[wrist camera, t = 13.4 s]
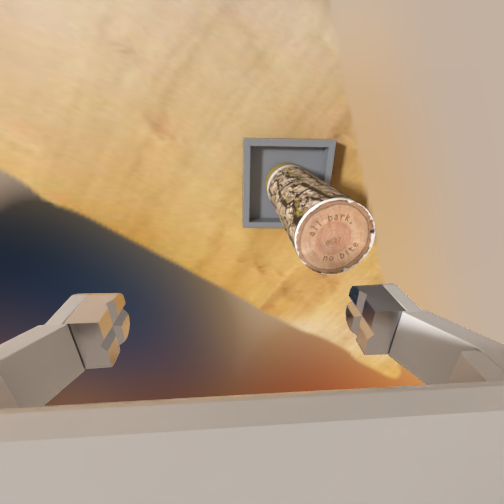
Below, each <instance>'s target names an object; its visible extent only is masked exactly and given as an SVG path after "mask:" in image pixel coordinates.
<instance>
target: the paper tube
mask: <svg viewBox="0 0 504 504" xmlns="http://www.w3.org/2000/svg"><path fill="white" fill-rule="evenodd" d="M265 189H266V192H267V194H268V196H269V199H270V201H271V203H272V205H273V207H274V209H275V211H276V213H277V215H278V217H279V219H280V221H281V223H282V225H283V227H284V229H285V231H286V233H287V235H288V237H289V239H290V241H291V243H292V245H293V247H294V249H295V251H296V253H297V254H298V256H299V258H300V259H301V261H302V262H303V263H304V264H305V265H306V266H307V267H308V268H309V269H311V270H313V271H315V272H318V273H322V274H336V273H341V272H344V271H347V270H349V269H351V268H353V267H354V266H356V265H357V264H358V263H360V262H361V261H362V260H363V259H364V258H365V257H366V255H367V254H368V253H369V251H370V249H371V247H372V245H373V242H374V238H375V224H374V220H373V218H372V216H371V214H370V213H369V211H368V210H367V209H366V208H365V207H364V206H362V205H361V204H360V203H358V202H356V201H355V200H353V199H352V198H350V197H348V196H347V195H345V194H343V193H342V192H340V191H338V190H337V189H335V188H334V187H332V186H330V185H329V184H327V183H325V182H324V181H322V180H320V179H319V178H317V177H315V176H314V175H312V174H311V173H309V172H307V171H306V170H304V169H302V168H301V167H299V166H297V165H295V164H293V163H289V162H284V163H280V164H277V165H276V166H274V167H273V168H272V169H271V170H270V171H269V172H268V174H267V176H266V180H265Z"/></svg>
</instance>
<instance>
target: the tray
mask: <svg viewBox="0 0 504 504" xmlns="http://www.w3.org/2000/svg"><path fill="white" fill-rule="evenodd" d="M335 147H336V140H331V139H285V138H243V228H284V227H283V225H282V223H281V221H280V219H279V217H278V215H277V213H276V211H275V209H274V207H273V205H272V203H271V201H270V199H269V196H268V194H267V192H266V189H265V180H266V176H267V174H268V172H269V171H270V170H271V169H272V168H273V167H274V166H276V165H277V164H280V163H284V162H289V163H293V164H295V165H297V166H299V167H301V168H302V169H304V170H306V171H307V172H309V173H311V174H312V175H314V176H315V177H317V178H319V179H320V180H322V181H324V182H325V183H327V184H329V185H330V182H331V175H332V168H333V161H334V154H335Z"/></svg>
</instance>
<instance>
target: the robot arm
mask: <svg viewBox="0 0 504 504" xmlns="http://www.w3.org/2000/svg"><path fill="white" fill-rule="evenodd" d="M349 297H350V298H351V300H352V301H351V302H350V303H349V304H348V305H347V308H346V321H347V324H348V327H349V329H350V330H351V331H352V332H353V333H355V334H356V335H357V338H356V341H357V343H358V345H359V346H360V348H361V350H362V352H363V353H364V355H376V354H389V356H390V357H391V358H393V359H394V360H395V361H397V362H398V363H399V364H400V365H402V366H403V367H404V368H406V369H407V370H409V371H410V372H411V373H412V374H413V375H415V376H416V377H418V378H419V379H420V380H421V381H423V382H424V383H425V384H426V385H415V386H414V385H413V386H397V387H381V388H362V389H343V390H325V391H305V392H287V393H269V394H252V395H234V396H217V397H199V398H182V399H166V400H165V399H164V400H147V401H128V402H111V403H93V404H77V405H76V404H75V405H58V406H44V405H45V404H46V403H47V402H48V401H50V400H51V399H52V398H53V397H54V396H55V395H57V394H58V393H59V392H60V391H61V390H62V389H64V388H65V387H66V386H67V385H68V384H69V383H71V382H72V381H73V380H74V379H75V378H76V377H78V376H79V375H80V374H81V373H82V372H83V371H85V369H91V368H103V367H112V366H113V365H114V362H115V360H116V358H117V356H118V354H119V352H120V348H119V345H120V344H121V343H123V342H124V341H125V340H126V338H127V335H128V332H129V327H130V322H129V315H128V313H127V312H126V311H124V310H123V309H122V308H123V307H124V305H125V300H124V297H123V295H122V294H121V293H93V294H92V293H91V294H89V293H87V294H74V295H72V296H71V297H70V298H69V299H68V300H67V301H66V302H65V304H63V305H62V307H61V308H60V309H59V310H58V311H57V312H56V313H55V314H54V315H53V316H52V317H51V318H50V319H49V321H48V322H47V323H46V324H45V325H39V326H37V327H35V328H33V329H31V330H29V331H27V332H25V333H23V334H21V335H19V336H17V337H15V338H13V339H11V340H9V341H7V342H5V343H3V344H1V345H0V504H504V345H503V344H501V343H499V342H496V341H494V340H492V339H490V338H487V337H485V336H483V335H481V334H478V333H476V332H474V331H472V330H470V329H467V328H465V327H463V326H461V325H458V324H456V323H454V322H451V321H449V320H447V319H445V318H443V317H440V316H438V315H436V314H434V313H431V312H429V311H426V310H421V309H420V308H419V307H418V306H417V305H416V304H415V303H414V302H413V301H412V300H411V299H410V298H409V297H408V296H407V295H406V294H405V293H404V292H403V291H402V290H401V289H400V288H399V287H398V286H397V285H395V284H379V285H362V286H352V287H351V289H350V293H349Z"/></svg>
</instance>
